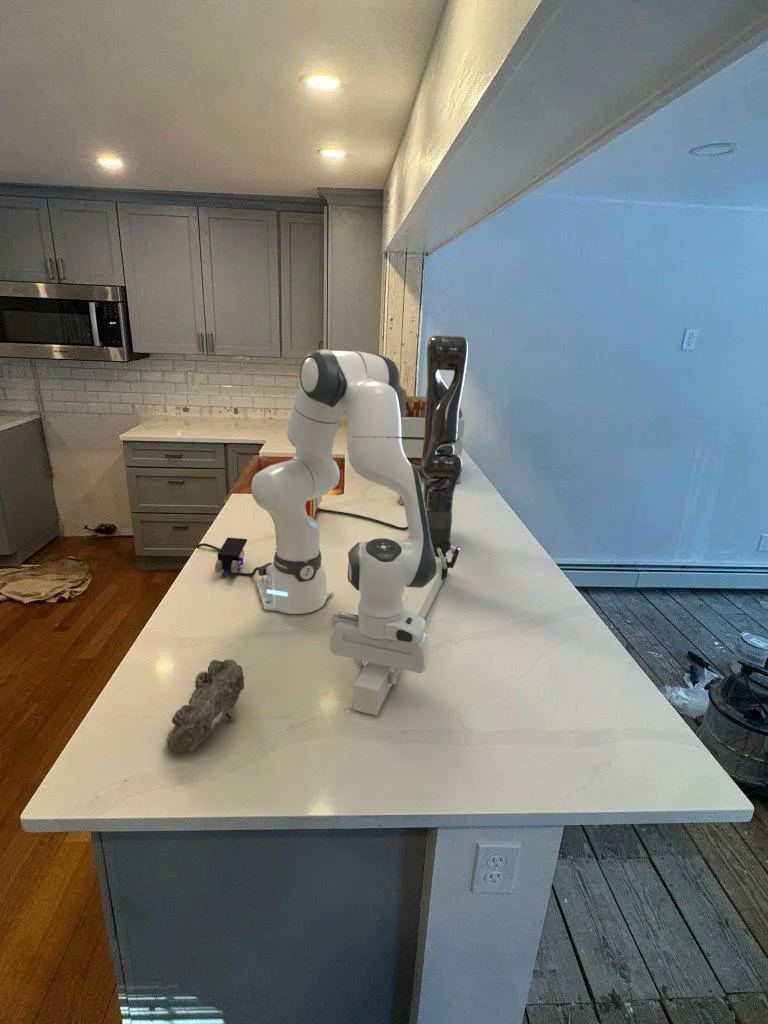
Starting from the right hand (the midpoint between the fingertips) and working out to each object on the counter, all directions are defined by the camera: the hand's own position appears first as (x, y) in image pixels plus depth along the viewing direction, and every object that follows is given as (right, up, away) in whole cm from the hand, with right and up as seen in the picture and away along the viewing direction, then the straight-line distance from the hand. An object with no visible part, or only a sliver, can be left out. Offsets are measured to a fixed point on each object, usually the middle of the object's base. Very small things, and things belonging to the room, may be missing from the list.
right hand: (433, 577), depth 165 cm
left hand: (-16, -15, -48) cm, 53 cm away
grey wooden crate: (+3, +38, +110) cm, 116 cm away
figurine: (-5, +23, +68) cm, 72 cm away
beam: (-8, -10, -23) cm, 27 cm away
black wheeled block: (-59, +2, +2) cm, 59 cm away
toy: (-44, +17, +45) cm, 66 cm away
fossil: (-47, -20, -57) cm, 77 cm away
